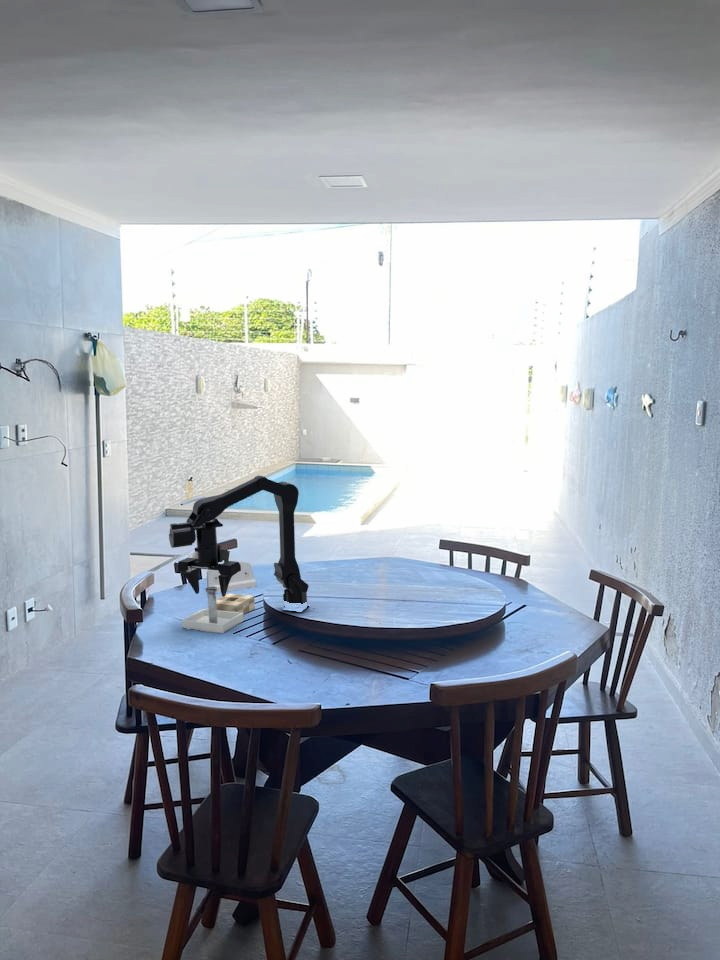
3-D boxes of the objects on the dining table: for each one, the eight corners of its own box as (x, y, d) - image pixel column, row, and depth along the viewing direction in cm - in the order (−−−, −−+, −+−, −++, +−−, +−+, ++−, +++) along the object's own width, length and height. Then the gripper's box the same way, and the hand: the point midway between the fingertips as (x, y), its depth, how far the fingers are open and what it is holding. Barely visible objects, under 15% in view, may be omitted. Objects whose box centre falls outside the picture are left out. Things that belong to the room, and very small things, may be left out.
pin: (221, 621, 227) (219, 587, 224) (214, 625, 224) (212, 591, 222) (211, 620, 228) (209, 585, 226) (205, 624, 225) (203, 589, 223)
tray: (243, 621, 228) (243, 613, 228) (223, 633, 218) (222, 625, 218) (204, 616, 234) (203, 608, 233) (182, 628, 224) (181, 620, 224)
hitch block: (255, 608, 240) (254, 595, 239) (237, 618, 231) (236, 605, 230) (227, 605, 244) (227, 593, 243) (209, 615, 235) (208, 602, 234)
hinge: (210, 594, 256) (205, 564, 258) (207, 595, 261) (202, 566, 262) (257, 586, 263) (253, 557, 265) (254, 587, 268) (249, 559, 269)
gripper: (249, 538, 226) (252, 589, 228) (196, 535, 233) (200, 584, 236) (228, 547, 216) (232, 600, 218) (174, 543, 223) (178, 595, 226)
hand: (210, 594), depth 225 cm, fingers open, 9 cm apart
